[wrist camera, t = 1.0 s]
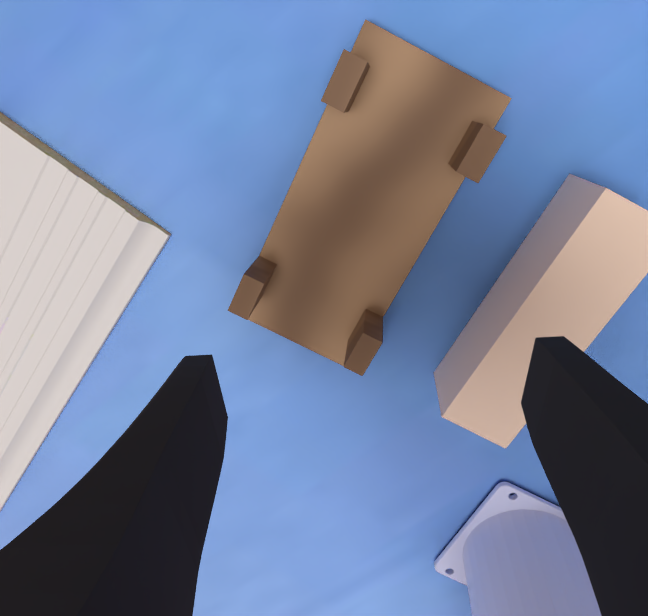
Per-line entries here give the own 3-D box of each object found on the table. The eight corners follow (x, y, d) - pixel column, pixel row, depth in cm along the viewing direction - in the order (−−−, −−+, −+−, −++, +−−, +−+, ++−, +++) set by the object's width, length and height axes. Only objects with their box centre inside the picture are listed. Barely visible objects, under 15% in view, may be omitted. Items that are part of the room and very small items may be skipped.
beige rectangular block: (631, 207, 24) (682, 229, 20) (488, 398, 29) (505, 448, 25) (567, 173, 24) (606, 187, 20) (433, 371, 29) (441, 416, 24)
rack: (506, 98, 23) (529, 98, 19) (353, 361, 29) (348, 399, 25) (366, 22, 22) (362, 7, 19) (238, 305, 28) (216, 336, 24)
